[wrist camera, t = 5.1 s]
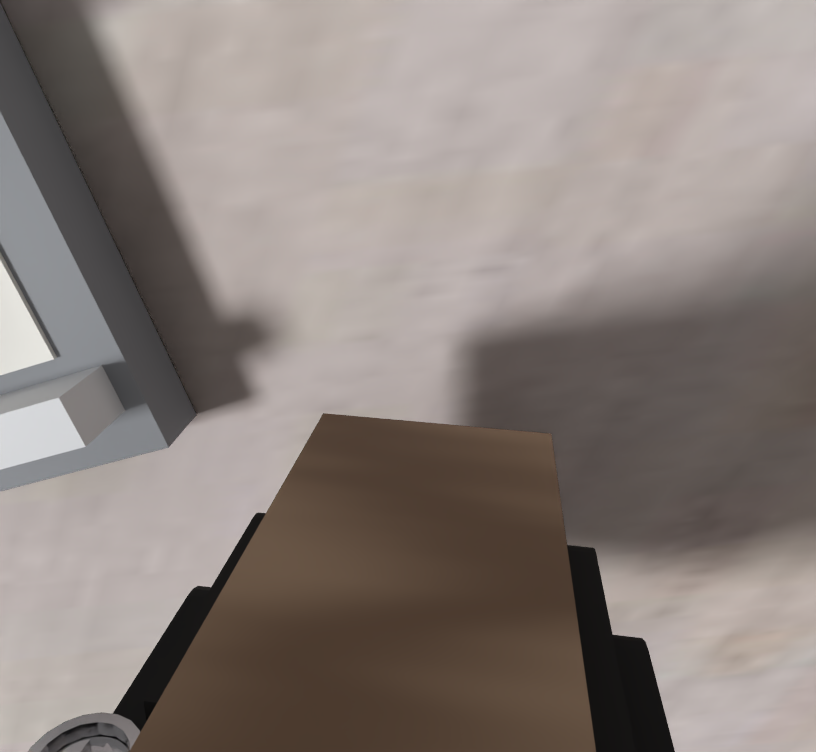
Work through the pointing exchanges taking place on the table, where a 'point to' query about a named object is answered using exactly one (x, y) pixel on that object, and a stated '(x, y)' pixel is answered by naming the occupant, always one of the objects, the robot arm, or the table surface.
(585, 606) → the robot arm
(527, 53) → the table surface
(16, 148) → the frame
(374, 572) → the walnut finger
